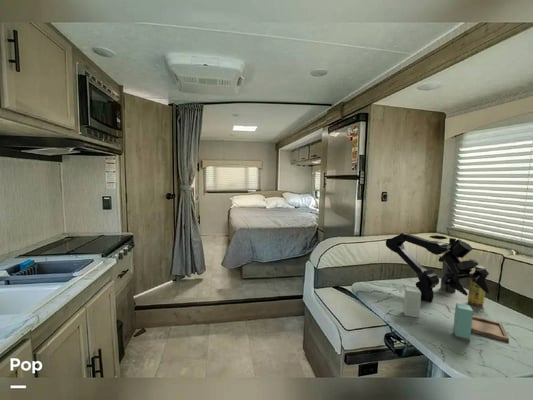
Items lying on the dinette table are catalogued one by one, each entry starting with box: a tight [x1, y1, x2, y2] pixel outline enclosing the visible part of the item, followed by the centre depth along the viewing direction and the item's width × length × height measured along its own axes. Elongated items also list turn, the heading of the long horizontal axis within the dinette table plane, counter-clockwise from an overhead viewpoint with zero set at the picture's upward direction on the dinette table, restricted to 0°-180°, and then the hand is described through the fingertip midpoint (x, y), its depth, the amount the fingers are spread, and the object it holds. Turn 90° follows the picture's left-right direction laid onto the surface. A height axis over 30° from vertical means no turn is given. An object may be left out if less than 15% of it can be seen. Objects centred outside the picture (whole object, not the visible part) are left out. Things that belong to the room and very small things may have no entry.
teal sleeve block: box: [452, 302, 474, 343], centre depth 103 cm, size 4×4×13 cm
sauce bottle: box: [467, 265, 487, 308], centre depth 130 cm, size 7×6×20 cm
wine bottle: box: [440, 237, 460, 293], centre depth 145 cm, size 6×6×30 cm
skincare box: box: [403, 286, 422, 319], centre depth 119 cm, size 6×4×12 cm
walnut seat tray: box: [471, 315, 510, 343], centre depth 110 cm, size 13×13×2 cm
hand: (477, 294), depth 110 cm, fingers open, 9 cm apart
